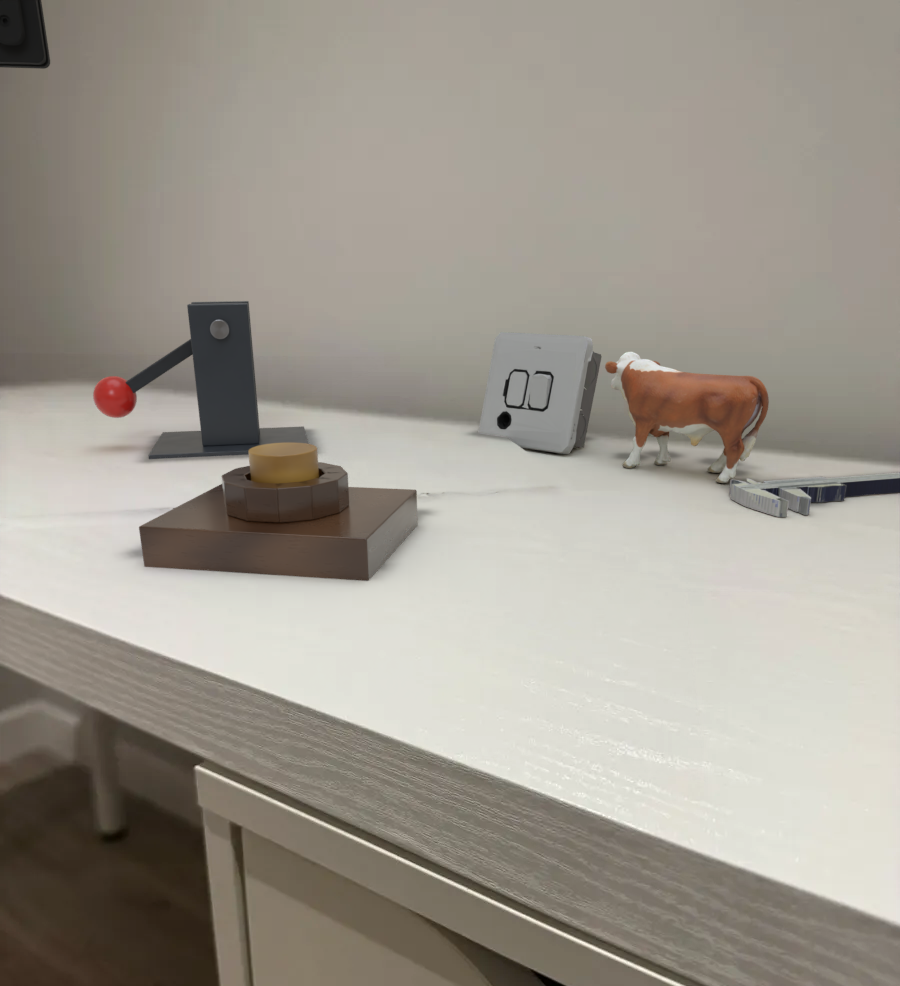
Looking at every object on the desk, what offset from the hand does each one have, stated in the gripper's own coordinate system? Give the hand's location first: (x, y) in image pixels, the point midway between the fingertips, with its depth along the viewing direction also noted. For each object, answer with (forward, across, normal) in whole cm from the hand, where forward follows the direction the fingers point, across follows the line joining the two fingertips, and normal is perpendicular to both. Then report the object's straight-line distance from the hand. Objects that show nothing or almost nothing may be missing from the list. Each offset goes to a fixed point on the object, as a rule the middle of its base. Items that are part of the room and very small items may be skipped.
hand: (17, 64), depth 49 cm
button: (+21, +13, +13) cm, 28 cm away
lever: (+19, -14, +5) cm, 24 cm away
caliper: (+25, +12, +52) cm, 59 cm away
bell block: (+25, +13, +13) cm, 31 cm away
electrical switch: (+25, -12, +34) cm, 44 cm away
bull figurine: (+25, 0, +41) cm, 48 cm away
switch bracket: (+25, -14, +9) cm, 30 cm away
